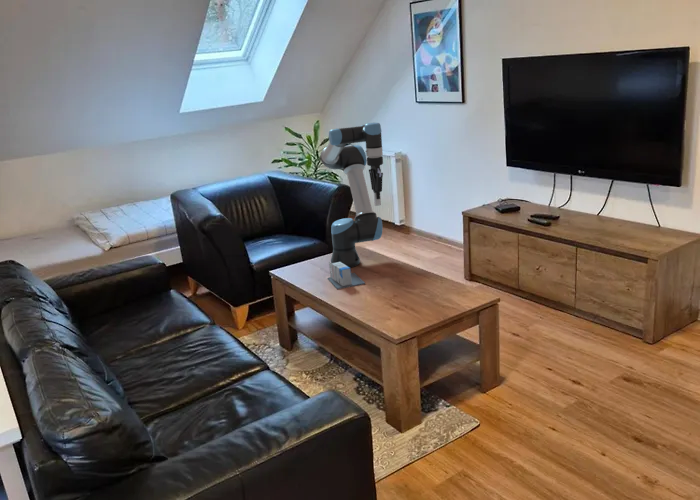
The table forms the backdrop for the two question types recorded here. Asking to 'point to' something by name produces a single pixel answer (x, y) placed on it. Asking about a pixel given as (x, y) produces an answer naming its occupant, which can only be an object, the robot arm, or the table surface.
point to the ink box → (340, 273)
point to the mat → (355, 282)
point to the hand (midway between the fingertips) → (377, 205)
